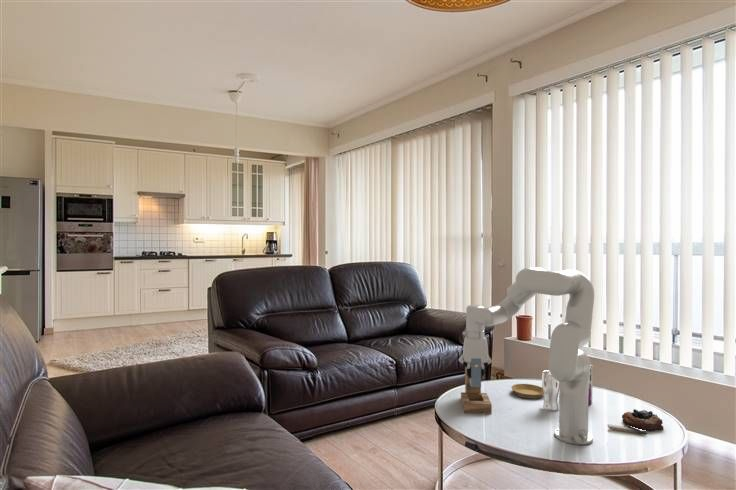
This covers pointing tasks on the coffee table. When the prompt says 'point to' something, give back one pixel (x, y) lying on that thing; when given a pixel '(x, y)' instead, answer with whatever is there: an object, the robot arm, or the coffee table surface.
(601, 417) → the coffee table surface
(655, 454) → the coffee table surface
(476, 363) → the grey box with cap
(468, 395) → the wooden square frame
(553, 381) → the white vase
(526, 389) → the plant saucer
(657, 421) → the pastry
